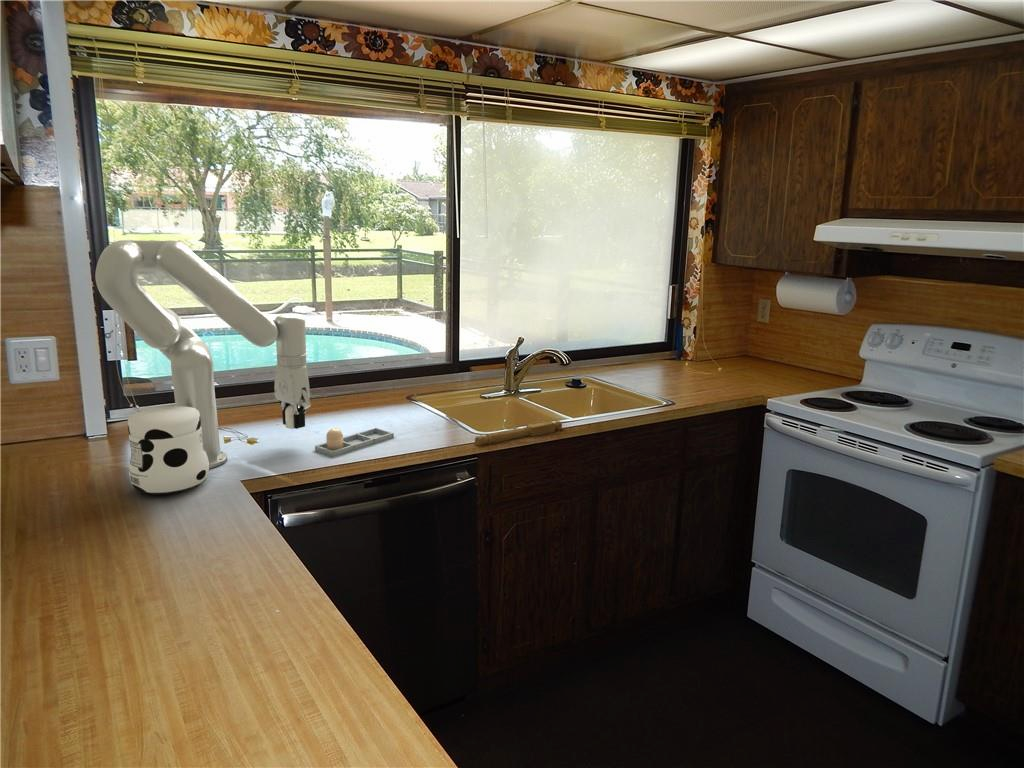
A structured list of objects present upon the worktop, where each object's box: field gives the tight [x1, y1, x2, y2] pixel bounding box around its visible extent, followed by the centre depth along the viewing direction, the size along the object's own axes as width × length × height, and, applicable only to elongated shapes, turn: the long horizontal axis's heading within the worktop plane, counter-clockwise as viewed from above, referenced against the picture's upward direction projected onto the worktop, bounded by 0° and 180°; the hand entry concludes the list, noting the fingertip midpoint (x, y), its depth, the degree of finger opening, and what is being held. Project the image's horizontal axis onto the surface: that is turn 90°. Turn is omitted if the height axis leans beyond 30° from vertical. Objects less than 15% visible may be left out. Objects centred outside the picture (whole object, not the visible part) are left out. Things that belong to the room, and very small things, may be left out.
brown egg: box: [325, 427, 344, 451], centre depth 196 cm, size 4×4×6 cm
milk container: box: [127, 405, 210, 496], centre depth 172 cm, size 17×17×18 cm
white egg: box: [285, 405, 300, 430], centre depth 197 cm, size 4×4×6 cm
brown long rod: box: [474, 420, 563, 447], centre depth 214 cm, size 3×3×30 cm
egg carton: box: [312, 427, 398, 459], centre depth 202 cm, size 23×9×2 cm, turn 141°
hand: (294, 424), depth 198 cm, fingers closed on white egg, 4 cm apart
